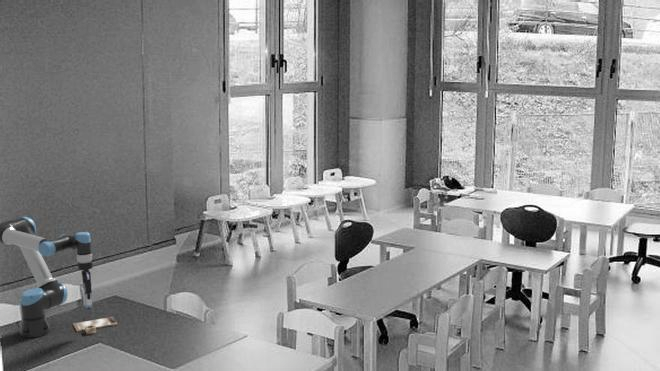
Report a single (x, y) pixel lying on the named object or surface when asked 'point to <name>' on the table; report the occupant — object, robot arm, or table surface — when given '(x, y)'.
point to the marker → (85, 297)
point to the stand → (90, 329)
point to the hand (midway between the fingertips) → (88, 303)
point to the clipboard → (95, 323)
